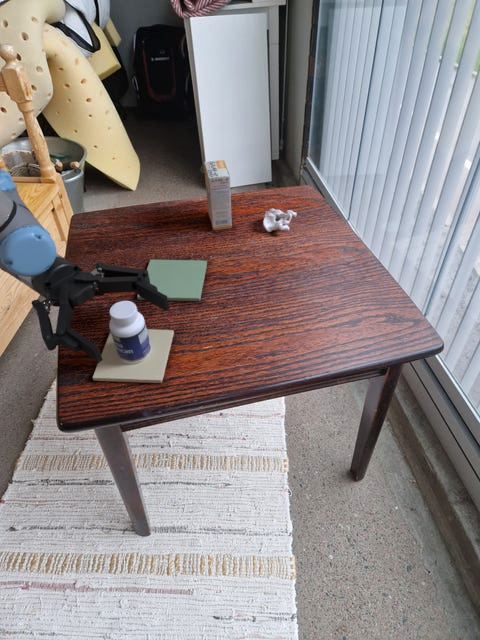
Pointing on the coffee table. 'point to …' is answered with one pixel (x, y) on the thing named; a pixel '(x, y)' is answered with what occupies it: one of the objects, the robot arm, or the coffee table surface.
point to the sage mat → (178, 278)
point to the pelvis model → (270, 221)
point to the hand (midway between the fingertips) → (134, 328)
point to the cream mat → (138, 372)
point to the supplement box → (218, 194)
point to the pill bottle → (129, 332)
